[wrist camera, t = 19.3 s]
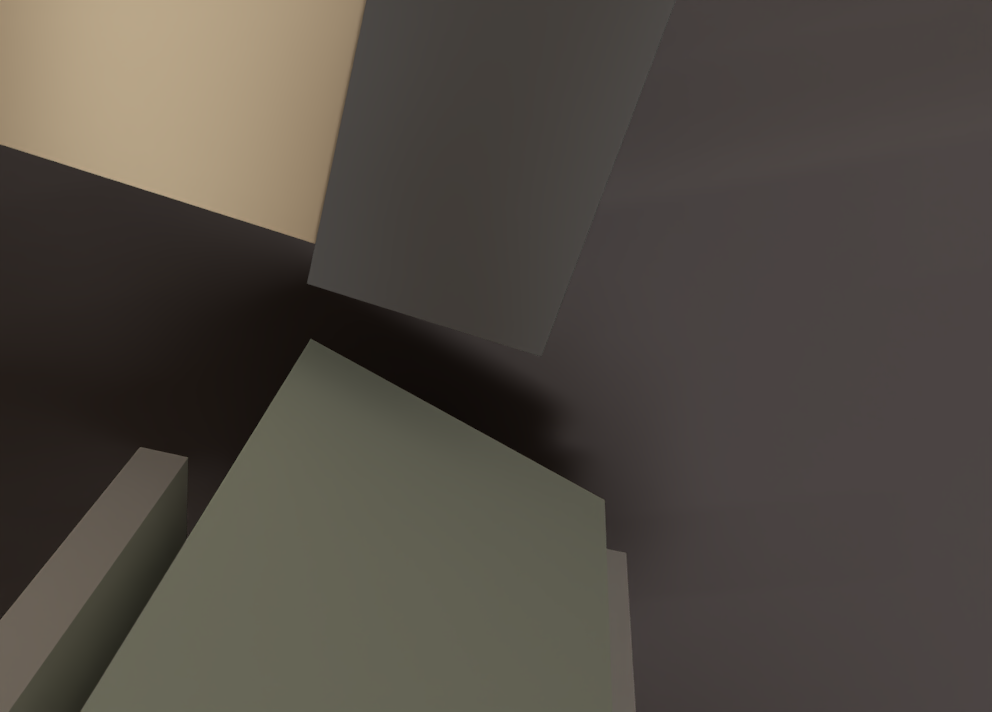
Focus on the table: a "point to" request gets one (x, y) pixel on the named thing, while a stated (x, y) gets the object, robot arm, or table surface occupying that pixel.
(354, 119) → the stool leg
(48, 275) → the table surface
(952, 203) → the table surface
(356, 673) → the tall sage green block
